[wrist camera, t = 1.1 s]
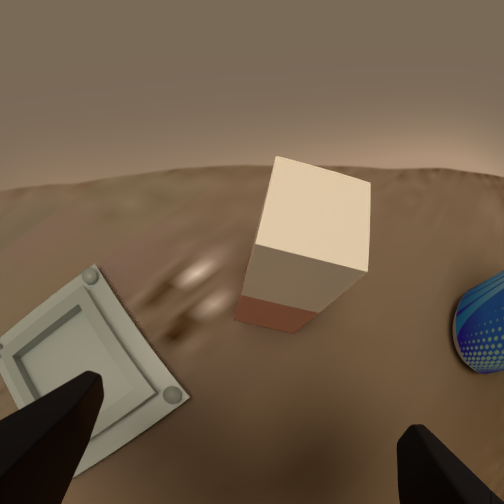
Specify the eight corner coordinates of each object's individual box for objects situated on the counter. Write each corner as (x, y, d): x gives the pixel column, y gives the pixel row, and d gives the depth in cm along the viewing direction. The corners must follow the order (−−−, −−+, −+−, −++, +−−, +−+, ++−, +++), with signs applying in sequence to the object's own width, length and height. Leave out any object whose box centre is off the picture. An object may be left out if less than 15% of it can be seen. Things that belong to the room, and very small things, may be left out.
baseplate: (190, 397, 20) (188, 397, 18) (71, 479, 16) (59, 485, 14) (98, 268, 23) (89, 257, 21) (-4, 349, 19) (-19, 344, 17)
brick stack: (292, 333, 23) (367, 272, 12) (233, 320, 23) (255, 243, 12) (302, 278, 25) (370, 182, 14) (247, 265, 25) (276, 155, 14)
